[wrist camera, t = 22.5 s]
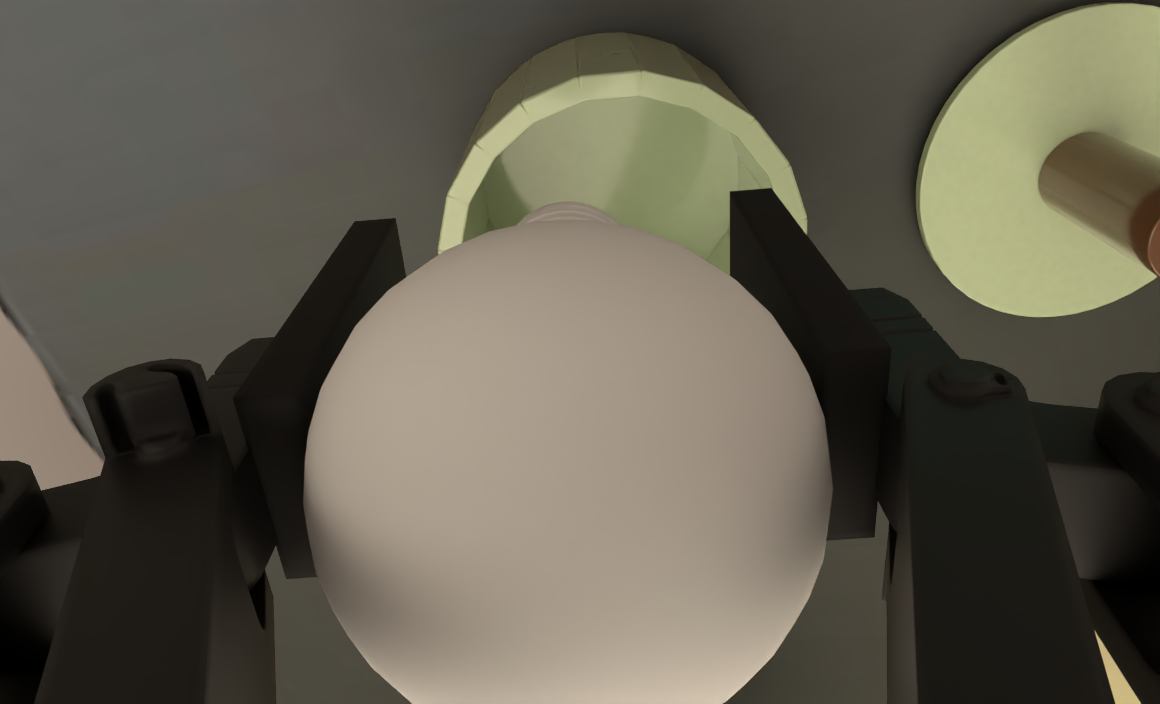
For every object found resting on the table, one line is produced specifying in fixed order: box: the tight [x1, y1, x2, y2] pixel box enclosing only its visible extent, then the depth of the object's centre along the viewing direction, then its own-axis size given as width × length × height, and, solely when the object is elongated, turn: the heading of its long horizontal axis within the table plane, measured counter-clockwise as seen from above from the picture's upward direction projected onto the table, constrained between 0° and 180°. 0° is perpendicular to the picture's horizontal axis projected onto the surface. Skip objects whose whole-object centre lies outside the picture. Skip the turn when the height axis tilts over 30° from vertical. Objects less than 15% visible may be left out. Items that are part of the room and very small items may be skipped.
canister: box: [438, 33, 807, 276], centre depth 34 cm, size 13×13×10 cm
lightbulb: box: [303, 201, 833, 704], centre depth 13 cm, size 6×6×11 cm
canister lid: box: [916, 2, 1160, 317], centre depth 34 cm, size 14×14×9 cm
